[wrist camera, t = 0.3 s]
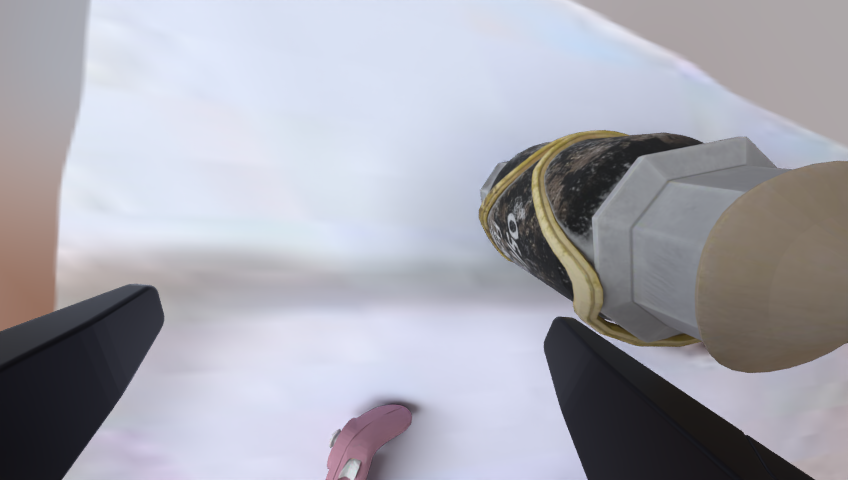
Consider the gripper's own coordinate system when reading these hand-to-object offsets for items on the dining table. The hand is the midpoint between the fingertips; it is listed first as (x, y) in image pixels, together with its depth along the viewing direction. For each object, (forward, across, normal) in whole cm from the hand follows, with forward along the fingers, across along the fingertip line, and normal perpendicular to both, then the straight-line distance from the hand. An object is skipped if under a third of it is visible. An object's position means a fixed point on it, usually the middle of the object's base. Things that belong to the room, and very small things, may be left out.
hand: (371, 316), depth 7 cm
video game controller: (+10, -1, +23) cm, 25 cm away
